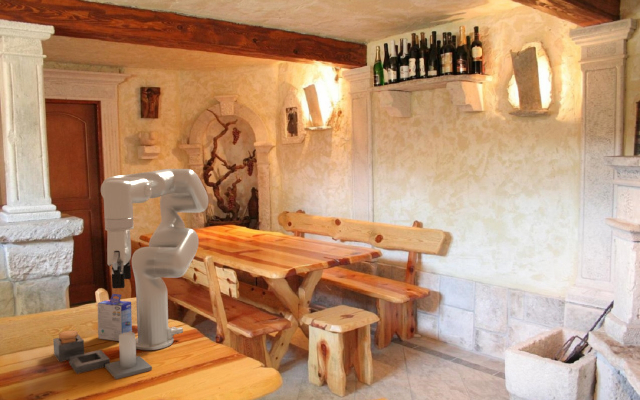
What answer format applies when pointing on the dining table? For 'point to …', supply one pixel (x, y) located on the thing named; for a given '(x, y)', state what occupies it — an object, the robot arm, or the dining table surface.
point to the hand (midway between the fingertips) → (122, 283)
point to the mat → (124, 372)
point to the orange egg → (68, 336)
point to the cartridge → (127, 350)
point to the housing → (68, 348)
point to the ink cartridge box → (114, 318)
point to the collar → (81, 367)
